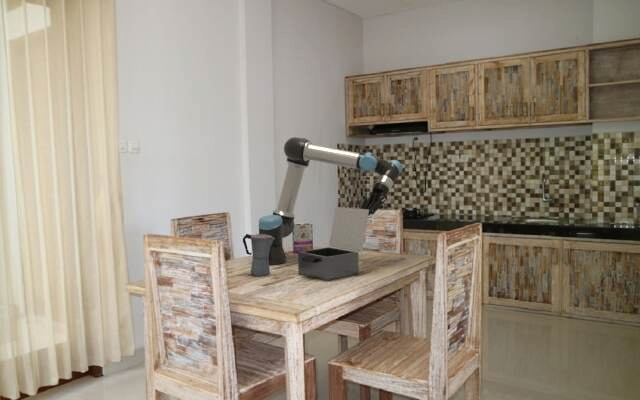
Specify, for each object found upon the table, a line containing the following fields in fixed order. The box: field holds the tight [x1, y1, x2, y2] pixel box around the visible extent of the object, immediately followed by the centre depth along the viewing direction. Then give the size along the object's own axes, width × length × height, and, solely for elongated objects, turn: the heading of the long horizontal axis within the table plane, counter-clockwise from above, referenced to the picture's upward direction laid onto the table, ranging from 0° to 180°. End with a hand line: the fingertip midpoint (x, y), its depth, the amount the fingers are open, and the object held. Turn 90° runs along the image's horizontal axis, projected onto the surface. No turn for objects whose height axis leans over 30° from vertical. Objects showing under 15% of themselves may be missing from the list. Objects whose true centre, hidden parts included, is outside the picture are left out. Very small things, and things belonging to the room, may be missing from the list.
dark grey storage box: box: [297, 246, 360, 282], centre depth 217 cm, size 20×20×10 cm
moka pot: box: [242, 230, 275, 277], centre depth 220 cm, size 10×15×20 cm, turn 78°
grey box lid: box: [328, 206, 369, 253], centre depth 225 cm, size 21×19×1 cm
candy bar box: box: [291, 222, 314, 254], centre depth 278 cm, size 11×5×16 cm, turn 102°
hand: (358, 224), depth 228 cm, fingers closed
